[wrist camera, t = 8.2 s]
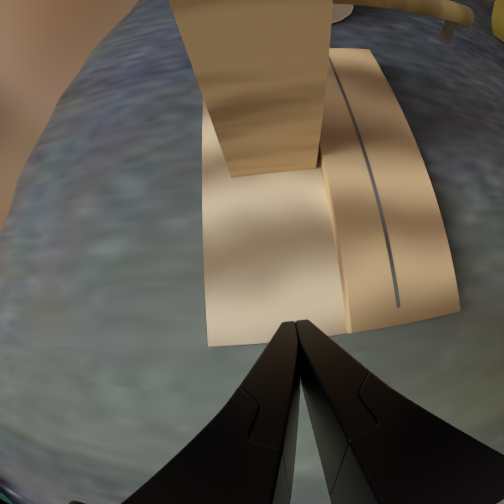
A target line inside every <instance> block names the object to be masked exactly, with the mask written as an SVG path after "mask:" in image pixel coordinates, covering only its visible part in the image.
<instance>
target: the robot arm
mask: <svg viewBox="0 0 504 504" xmlns="http://www.w3.org/2000/svg"><path fill="white" fill-rule="evenodd" d="M300 379H301V385H302V389H303V393H304V397H305V401H306V404H307V408H308V412H309V416H310V420H311V424H312V428H313V432H314V436H315V440H316V443H317V447H318V451H319V455H320V459H321V463H322V467H323V471H324V475H325V479H326V483H327V487H328V492H329V495H330V500H331V504H504V455H503V454H501V453H499V452H498V451H496V450H494V449H492V448H490V447H489V446H487V445H485V444H483V443H481V442H480V441H478V440H476V439H474V438H473V437H471V436H469V435H467V434H466V433H464V432H462V431H461V430H459V429H457V428H455V427H454V426H452V425H450V424H449V423H447V422H445V421H444V420H442V419H440V418H439V417H437V416H435V415H434V414H432V413H430V412H429V411H427V410H425V409H424V408H422V407H420V406H419V405H417V404H416V403H414V402H412V401H411V400H409V399H407V398H406V397H404V396H403V395H401V394H400V393H398V392H397V391H395V390H394V389H392V388H391V387H390V386H388V385H387V384H386V383H384V382H383V381H382V380H380V379H379V378H378V377H377V376H376V375H374V374H373V373H372V372H370V371H369V370H368V369H367V368H365V367H364V366H363V365H362V364H361V363H359V362H358V361H357V360H356V359H355V358H353V357H352V356H351V355H350V354H349V353H347V352H346V351H345V350H344V349H343V348H341V347H340V346H339V345H338V344H337V343H336V342H334V341H333V340H332V339H331V338H330V337H328V336H327V335H326V334H325V333H324V332H323V331H321V330H320V329H319V328H318V327H317V326H315V325H314V324H313V323H312V322H311V321H310V320H308V319H305V320H297V321H296V322H294V321H287V322H282V323H281V325H280V326H279V328H278V329H277V331H276V332H275V334H274V335H273V337H272V338H271V340H270V342H269V343H268V345H267V346H266V348H265V349H264V351H263V352H262V354H261V355H260V357H259V358H258V360H257V361H256V363H255V364H254V366H253V367H252V369H251V370H250V371H249V373H248V374H247V376H246V377H245V379H244V380H243V382H242V383H241V385H240V386H239V387H238V388H237V390H236V391H235V393H234V394H233V395H232V397H231V398H230V399H229V401H228V402H227V403H226V404H225V406H224V407H223V408H222V409H221V410H220V412H219V413H218V414H217V415H216V416H215V417H214V418H213V419H212V420H211V421H210V422H209V423H208V424H207V425H206V426H205V427H204V428H203V429H202V430H201V431H200V432H199V433H198V434H197V435H196V436H195V437H194V438H193V439H192V440H191V441H190V442H189V443H188V444H187V445H186V446H185V447H184V448H183V449H182V450H181V451H180V452H179V453H178V454H177V455H176V456H175V457H174V458H172V459H171V460H170V461H169V462H168V463H167V464H166V465H165V466H164V467H163V468H162V469H161V470H159V471H158V472H157V473H156V474H155V475H154V476H153V477H152V478H151V479H149V480H148V481H147V482H146V483H145V484H144V485H143V486H141V487H140V488H139V489H138V490H137V491H136V492H134V493H133V494H132V495H131V496H130V497H128V498H127V499H126V500H125V501H124V502H122V503H121V504H290V500H291V492H292V483H293V473H294V463H295V453H296V441H297V429H298V416H299V401H300ZM0 504H11V503H9V502H7V501H5V500H4V499H2V498H1V497H0ZM69 504H85V503H82V502H79V501H73V500H72V501H71V502H70V503H69Z"/></svg>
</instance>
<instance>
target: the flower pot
mask: <svg viewBox="0 0 504 504" xmlns="http://www.w3.org/2000/svg"><path fill="white" fill-rule="evenodd" d="M492 30H493V34H494V36H496V37H497V38H498V39H500V40H501V41H502V42H504V0H495V4H494V8H493V13H492Z"/></svg>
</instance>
